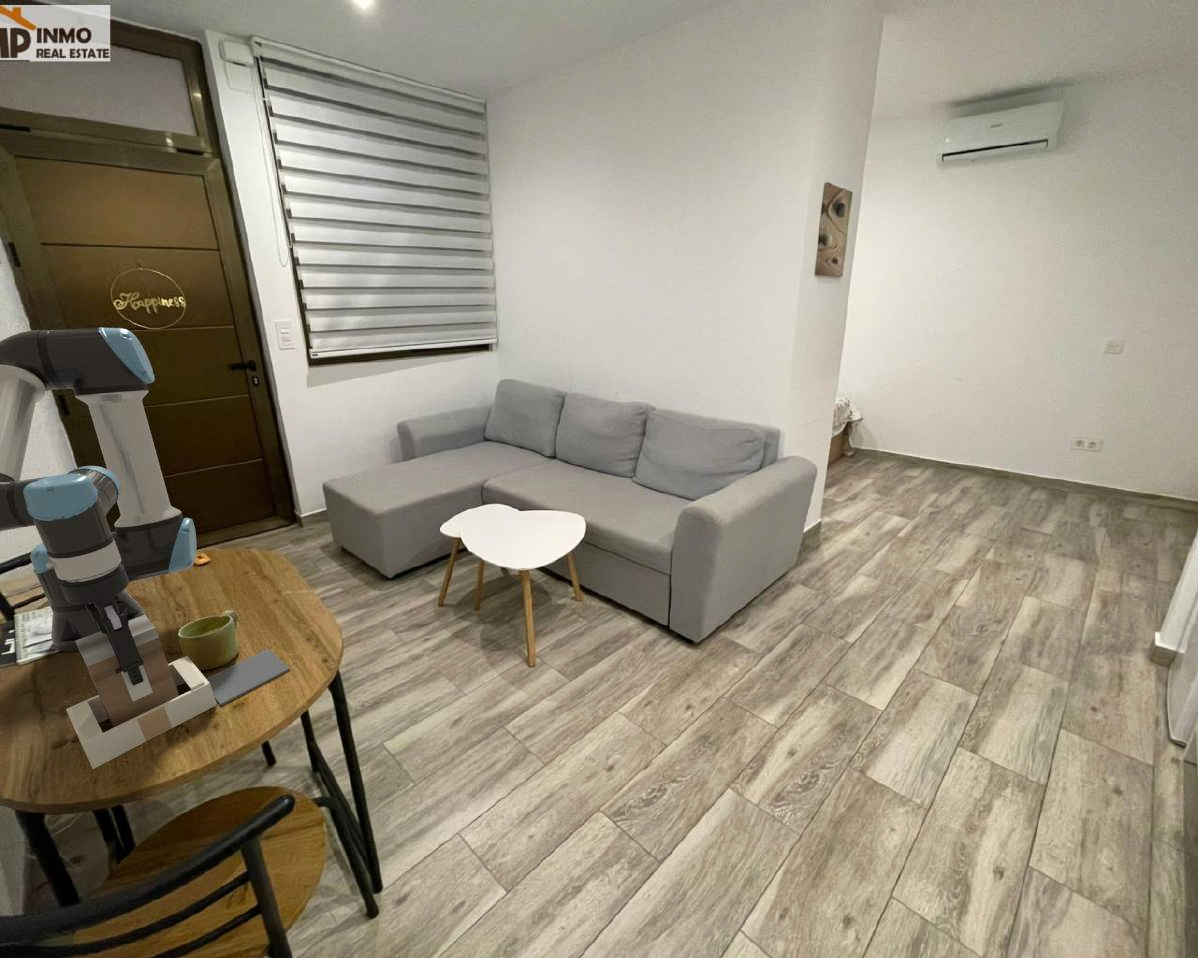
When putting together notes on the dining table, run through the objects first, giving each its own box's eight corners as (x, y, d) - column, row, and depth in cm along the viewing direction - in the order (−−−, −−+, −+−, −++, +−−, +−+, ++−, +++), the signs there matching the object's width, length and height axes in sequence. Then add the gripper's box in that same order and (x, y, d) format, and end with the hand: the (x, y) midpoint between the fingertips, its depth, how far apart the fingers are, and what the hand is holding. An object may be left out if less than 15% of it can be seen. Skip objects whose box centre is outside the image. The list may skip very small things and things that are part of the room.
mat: (202, 682, 102) (201, 680, 102) (268, 649, 111) (268, 648, 110) (221, 705, 96) (220, 704, 96) (289, 669, 105) (289, 668, 105)
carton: (76, 731, 91) (65, 707, 89) (194, 676, 103) (186, 653, 101) (92, 769, 83) (81, 743, 82) (217, 704, 96) (209, 681, 94)
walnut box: (111, 725, 92) (75, 640, 85) (174, 695, 98) (144, 614, 92) (120, 743, 88) (83, 655, 82) (185, 710, 95) (155, 627, 89)
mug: (212, 674, 101) (196, 625, 100) (175, 680, 104) (159, 633, 103) (267, 645, 113) (253, 602, 112) (233, 651, 116) (218, 609, 115)
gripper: (47, 562, 86) (95, 675, 94) (71, 602, 75) (123, 727, 83) (107, 545, 91) (147, 653, 99) (138, 580, 80) (180, 699, 88)
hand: (136, 686), depth 91 cm, fingers closed on walnut box, 6 cm apart
